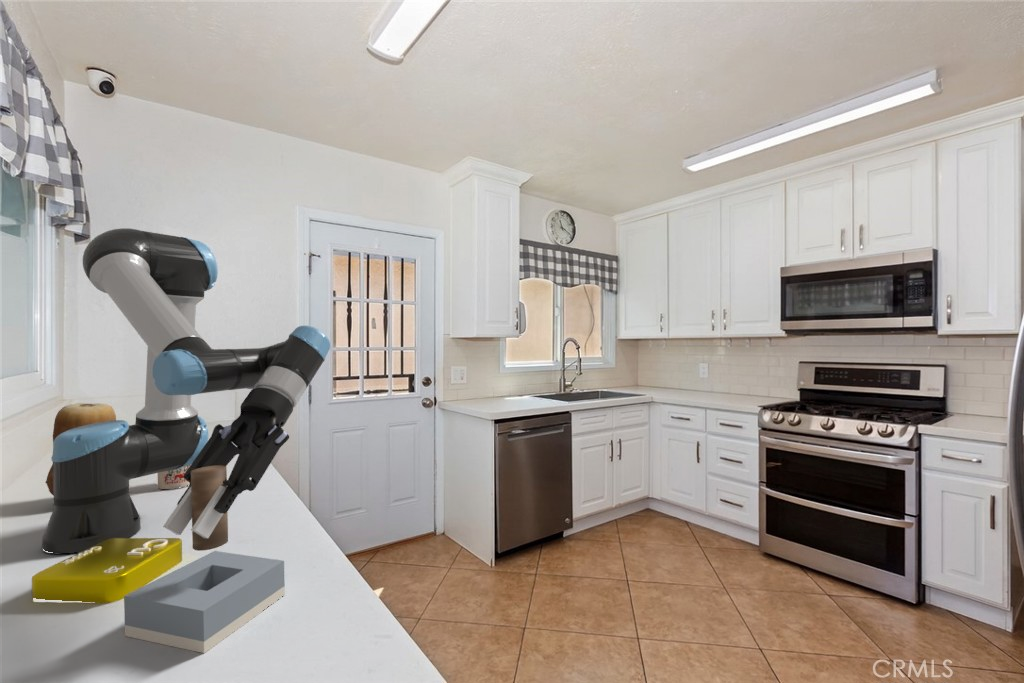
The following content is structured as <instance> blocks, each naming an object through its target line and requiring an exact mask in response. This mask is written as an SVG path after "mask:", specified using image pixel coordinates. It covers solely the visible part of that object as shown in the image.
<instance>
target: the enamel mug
mask: <svg viewBox="0 0 1024 683" xmlns="http://www.w3.org/2000/svg"><path fill="white" fill-rule="evenodd" d="M190 466H191V465H187V466H184V467H181V468H179V469H175V470H168V471H164V472H159V473H157V488H158V489H159V490H162V489H171V490H175V489H174V488H179V487H183V488H185V487H184V486H187V485H190V483H189V482H188V481H187V480H186V479H184V478H183V476H184V474H185V473H186V471H187V470H188V469H189V467H190ZM187 487H188V486H187ZM179 489H180V488H179Z"/></svg>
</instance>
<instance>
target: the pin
mask: <svg viewBox="0 0 1024 683" xmlns="http://www.w3.org/2000/svg"><path fill="white" fill-rule="evenodd" d="M227 471H228V470H227V466H223V465H215V466H206V467H201V468H197V469H194V470H192V471H191V500H192V518H191V528H192V527H193V526H194V524H195V523H196V521H197V520H198V518H199V517H200V515H201V514H202V512H203V510H204V509H205V507H206V506H207V504H208V503H209V501H210V500H211V498H212V497H213V495H214V494H215V492H216V491H217V489H218V488H219V486H224V487H226V488H227V486H226V485H225V484H224V483H223V481H225V480H228V479H227V477H228V476H227V475H228V474H227V473H228V472H227ZM228 512H229V511H227V512H226V513H225V514H223V515H222V517H221V519H220V520H219V522H218V523H217V525H216V527H215V528H214V530H213V531H212V533H211V535H210V536H209V538H203V537H202V536H200V535H198V534H197V533H195V532H194V531H192V530H191V536H192V549H193V550H194V551H202V552H203V551H208V550H213V549H217V548H220V547H222V546H224V545H225V544H228V542H229V523H228V522H229V521H228V520H229V519H228Z"/></svg>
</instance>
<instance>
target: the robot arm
mask: <svg viewBox="0 0 1024 683" xmlns="http://www.w3.org/2000/svg"><path fill="white" fill-rule="evenodd" d="M82 267H83V271H84V273H85V275H86V277H87V278H88V280H89V282H90V283H91V284H92V285H93V286H94V287H95V288H96V289H97V290H98V291H100V292H102V293H104V294H107V295H108V296H109V297H110V298H111V300H112V301H113V302H114V304H115V305H116V307H117V308H118V309H119V311H121V313H122V314H123V316H124V317H125V318H126V320H127V321H128V322H129V324H130V325H131V326H132V328H133V329H134V330H135V332H136V333H137V334H138V335H139V337H140V338H141V339H142V340H143V342H144V343H145V345H146V346H147V354H146V355H147V356H146V377H145V396H144V397H145V398H144V407H142V408H141V409H140V410H139V411H137V412H136V414H135V424H131V425H130V424H129V423H128V422H127V420H120V419H119V420H117V419H116V420H114V421H107V422H99V423H94V424H89V425H85V426H81V427H77V428H73V429H70V430H68V431H65V432H63V433H61V434H60V435H58V436H57V437H56V438H55V440H54V443H53V442H52V455H51V458H50V459H51V461H52V464H53V489H54V496H53V510H52V512H51V514H50V517H49V520H48V522H47V525H46V527H45V530H44V533H43V536H42V539H41V547H42V548H43V549H44V550H45V551H48V552H53V553H70V554H75V553H74V552H77V553H80V552H82V551H84V550H86V549H88V548H90V547H93V546H95V545H97V544H99V543H101V542H103V541H106V540H108V539H112V538H132V537H133V536H134V535H136V534H137V533H138V532H139V531H140V530H141V517H140V514H139V511H138V510H137V507H136V506H135V503H134V501H133V499H132V497H131V495H130V480H132V479H137V478H142V477H146V476H151V475H155V474H158V473H159V472H164V471H168V470H175V469H179V468H181V467H184V466H187V465H191V466H190V467H189V469H188V470H187V471H186V473H185V474H184V476H183V478H184V479H186V480H187V481H188V482H189V483H190V485H189V486H187V489H185V491H184V492H183V494H182V495H181V497H180V498H179V500H178V501H177V503H176V507H175V509H174V510H173V511H172V512H171V514H170V516H169V517H168V518H167V520H166V522H165V523H164V524H163V526H162V527H163V528H165V529H167V530H168V531H170V532H172V533H173V534H175V535H178V536H181V535H182V534H183V532H184V530H185V529H186V527H187V526H188V525H189V523H190V522H191V521H192V500H191V471H192V470H194V469H197V468H201V467H206V466H215V465H223V466H226V467H227V466H228V464H229V463H230V462H231V461H232V460H233V459H234V458H235V456H237V455H238V457H237V459H236V461H235V463H234V465H233V467H232V470H231V472H230V474H229V477H228V479H227V480H225V481H223V483H224V484H225V485H226V486H227V488H226V487H224V486H219V488H218V489H217V491H216V492H215V494H214V495H213V497H212V498H211V500H210V501H209V503H208V504H207V506H206V507H205V509H204V510H203V512H202V514H201V515H200V517H199V518H198V520H197V521H196V523H195V524H194V526H193V527H192V526H191V529H190V530H191V532H192V531H194V532H195V533H197V534H198V535H200V536H202V537H203V538H209V536H210V535H211V533H212V531H213V530H214V528H215V527H216V525H217V523H218V522H219V520H220V519H221V517H222V515H223V514H225V513H226V512H229V511H230V508H231V507H232V506H233V504H234V502H235V501H236V499H237V497H238V496H239V495H240V494H242V493H243V492H245V491H249V492H252V491H254V490H255V489H256V488H257V486H258V484H259V483H260V481H261V479H262V478H263V476H264V475H265V473H266V471H267V470H268V468H269V467H270V465H271V463H272V462H273V460H274V459H275V457H276V456H277V454H278V451H279V450H280V449H281V447H282V446H283V445H284V444H286V442H287V441H289V439H290V435H289V434H288V432H286V431H285V430H284V429H283V427H284V426H285V425H286V423H287V421H288V420H289V418H290V417H291V415H292V413H293V411H294V408H295V407H296V406H297V404H298V402H299V401H300V399H301V398H302V396H303V395H304V393H305V391H306V390H307V388H308V386H309V385H310V384H311V382H312V380H313V379H314V377H315V375H316V374H317V372H318V371H319V370H320V368H321V366H322V364H323V363H324V362H325V360H326V357H327V355H328V353H329V351H330V350H331V341H330V339H329V338H328V336H327V335H326V334H324V332H323V331H322V330H320V329H318V328H316V327H315V326H311V325H299V326H297V327H296V328H295V329H294V330H292V332H291V333H290V334H289V335H288V338H287V339H286V340H285V341H281V342H278V343H275V344H271V345H270V346H266V347H257V348H255V347H254V348H221V349H220V348H218V349H215V348H212V347H210V345H209V344H208V342H206V340H204V339H203V337H202V336H201V335H200V334H199V332H198V331H197V330H196V311H197V310H196V309H197V305H198V303H200V302H201V301H203V300H204V298H205V292H207V291H209V290H211V289H212V288H213V287H214V286H215V283H216V282H217V279H218V273H219V272H218V271H219V270H218V269H219V268H218V263H217V259H216V257H215V255H214V253H213V252H212V250H211V248H210V247H209V246H208V245H207V244H205V243H204V242H201V241H199V240H195V239H191V238H188V237H183V236H176V235H170V234H164V233H158V232H152V231H147V230H146V231H145V230H140V229H135V228H130V227H129V228H114V229H109V230H107V231H105V232H102V233H100V234H99V235H97V236H95V237H94V238H93V239H92V240H91V241H90V242H89V243H88V244H87V246H86V247H85V249H84V251H83V255H82ZM241 389H242V390H243V389H246V390H247V389H248V390H250V391H249V393H248V394H247V396H246V397H245V399H244V400H243V401H242V403H241V404H240V413H239V414H240V415H239V416H238V417H237V418H236V419H235V420H233V421H232V423H231V424H230V425H227V426H223V425H222V424H221V423H220V424H216V425H215V426H214V427H213V430H212V434H211V436H210V437H209V429H208V428H207V423H206V421H205V419H203V417H201V416H199V412H198V410H197V409H196V408H195V407H193V406H192V405H191V404H192V403H191V402H192V396H194V395H199V394H208V393H214V392H222V391H223V392H225V391H234V390H241ZM42 548H41V549H42Z"/></svg>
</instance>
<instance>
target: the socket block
mask: <svg viewBox="0 0 1024 683" xmlns="http://www.w3.org/2000/svg"><path fill="white" fill-rule="evenodd" d="M285 586H286V585H285V561H284V560H282V559H274V558H267V557H262V556H261V557H260V556H253V555H248V554H246V555H245V554H238V553H231V552H223V551H217V550H214V551H212V552H210V553H207V554H206V555H204V556H202V557H200V558H198V559H196V560H193V561H191V562H190V563H188V564H186V565H183V566H181V567H179V568H177V569H176V570H173V571H172V572H169V573H168V574H165V575H164V576H161V577H160V578H159V577H158V578H156V579H154V580H153V581H151V582H150V583H148V584H146V585H145V586H143V587H141V588H139V589H137V590H135V591H133V592H131V593H129V594H127V595H125V596H124V599H123V602H124V603H123V604H124V605H123V606H124V607H123V608H124V611H123V612H124V636H125V637H129V638H132V639H138V640H142V641H147V642H150V643H151V642H152V643H156V644H161V645H165V646H170V647H172V648H178V649H182V650H187V651H192V652H197V653H202V654H205V653H207V652H208V651H210V650H211V649H212V648H214V647H215V646H217V645H218V644H219V643H221V642H222V641H224V640H225V639H227V638H228V637H229V636H230V635H232V634H233V633H235V632H236V631H237V630H239V629H240V628H241V627H243V626H244V625H246V624H247V623H249V621H251V620H253V619H254V618H256V617H257V616H258V615H260V614H261V613H263V612H264V611H265V610H266V608H267V607H268V606H269V607H271V606H272V605H274V604H275V603H276V602H278V601H279V600H280V599H282V598H283V597H285V596H286V595H285V594H286V591H285V590H286V588H285ZM284 595H285V596H284ZM282 596H283V597H282ZM281 597H282V598H281ZM279 598H280V599H279ZM278 599H279V600H278ZM277 600H278V601H277ZM274 602H275V603H274ZM273 603H274V604H273ZM271 604H272V605H271ZM270 605H271V606H270ZM269 607H268V608H269ZM268 608H267V609H268ZM264 609H265V610H264ZM263 610H264V611H263ZM259 613H260V614H259Z"/></svg>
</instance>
